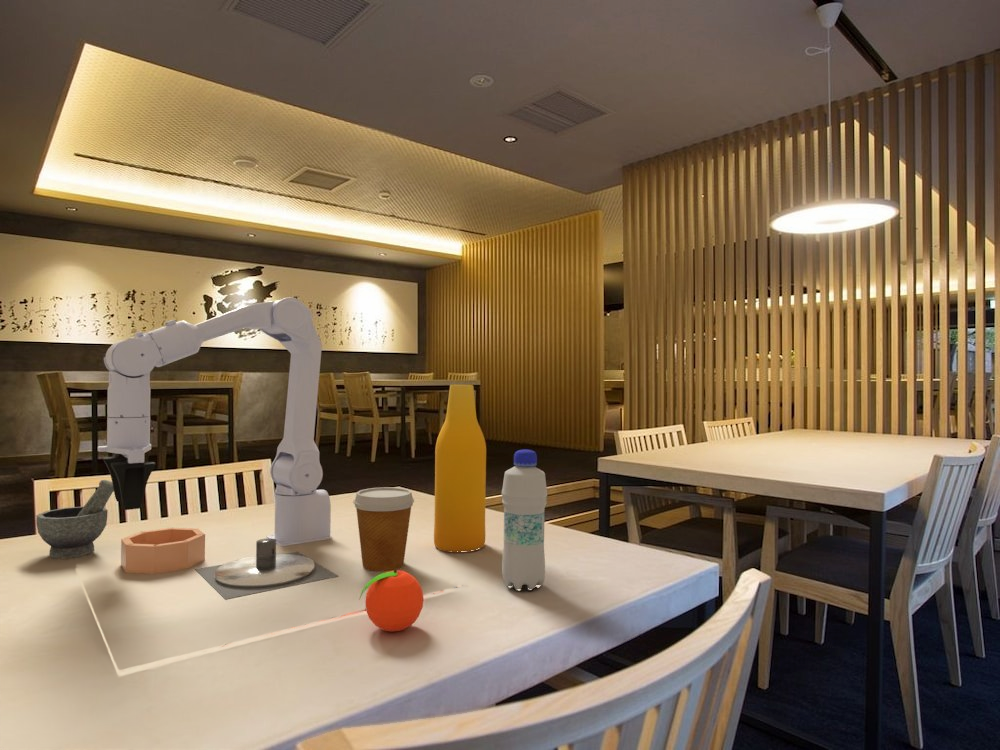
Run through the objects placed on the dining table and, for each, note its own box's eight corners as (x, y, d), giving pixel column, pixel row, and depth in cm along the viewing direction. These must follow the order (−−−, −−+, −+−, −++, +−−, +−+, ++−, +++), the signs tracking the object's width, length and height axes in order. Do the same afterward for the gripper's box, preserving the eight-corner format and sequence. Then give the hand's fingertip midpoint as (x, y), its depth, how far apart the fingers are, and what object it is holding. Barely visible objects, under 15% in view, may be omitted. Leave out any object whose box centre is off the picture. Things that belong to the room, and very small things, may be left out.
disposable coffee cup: (424, 563, 100) (425, 490, 100) (390, 581, 92) (391, 500, 92) (376, 556, 104) (377, 485, 104) (339, 571, 96) (340, 494, 96)
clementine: (371, 649, 69) (372, 585, 69) (347, 628, 75) (347, 569, 75) (433, 632, 74) (434, 572, 74) (406, 614, 79) (407, 558, 79)
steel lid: (294, 554, 103) (294, 525, 103) (329, 575, 92) (329, 543, 92) (203, 569, 94) (204, 538, 94) (231, 595, 84) (231, 560, 84)
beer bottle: (472, 556, 105) (474, 385, 105) (424, 549, 109) (426, 384, 109) (493, 542, 114) (495, 385, 114) (448, 537, 117) (450, 384, 117)
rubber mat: (297, 554, 105) (297, 551, 105) (338, 579, 92) (338, 575, 92) (195, 572, 95) (195, 569, 95) (225, 602, 82) (225, 599, 82)
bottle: (551, 582, 92) (553, 448, 92) (539, 597, 86) (541, 453, 86) (508, 576, 94) (510, 445, 95) (493, 591, 88) (495, 450, 88)
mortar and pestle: (30, 564, 97) (31, 488, 97) (40, 549, 105) (41, 479, 106) (114, 555, 103) (116, 483, 103) (117, 542, 111) (118, 475, 111)
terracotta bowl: (192, 551, 106) (193, 524, 106) (210, 567, 97) (210, 538, 97) (117, 562, 99) (118, 534, 99) (129, 580, 90) (129, 550, 90)
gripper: (92, 415, 99) (91, 500, 99) (104, 420, 88) (103, 516, 88) (143, 413, 103) (142, 495, 103) (160, 419, 92) (159, 510, 92)
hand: (128, 504), depth 96 cm, fingers open, 7 cm apart
